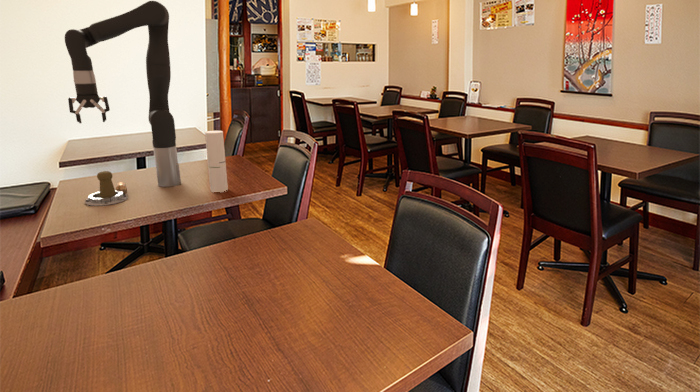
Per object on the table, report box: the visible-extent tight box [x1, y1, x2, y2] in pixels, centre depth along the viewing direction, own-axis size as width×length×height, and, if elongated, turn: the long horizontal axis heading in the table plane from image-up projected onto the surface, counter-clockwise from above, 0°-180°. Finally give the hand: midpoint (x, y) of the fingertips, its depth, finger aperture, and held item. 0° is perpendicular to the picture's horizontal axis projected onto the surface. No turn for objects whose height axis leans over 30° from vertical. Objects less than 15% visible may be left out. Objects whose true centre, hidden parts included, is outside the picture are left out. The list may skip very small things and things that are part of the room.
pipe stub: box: [115, 181, 128, 195], centre depth 181 cm, size 8×4×4 cm, turn 28°
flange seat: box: [84, 189, 129, 207], centre depth 172 cm, size 15×15×2 cm
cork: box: [96, 170, 116, 198], centre depth 170 cm, size 6×6×11 cm
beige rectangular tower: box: [204, 130, 229, 193], centre depth 182 cm, size 7×7×25 cm
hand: (92, 122), depth 181 cm, fingers open, 8 cm apart
